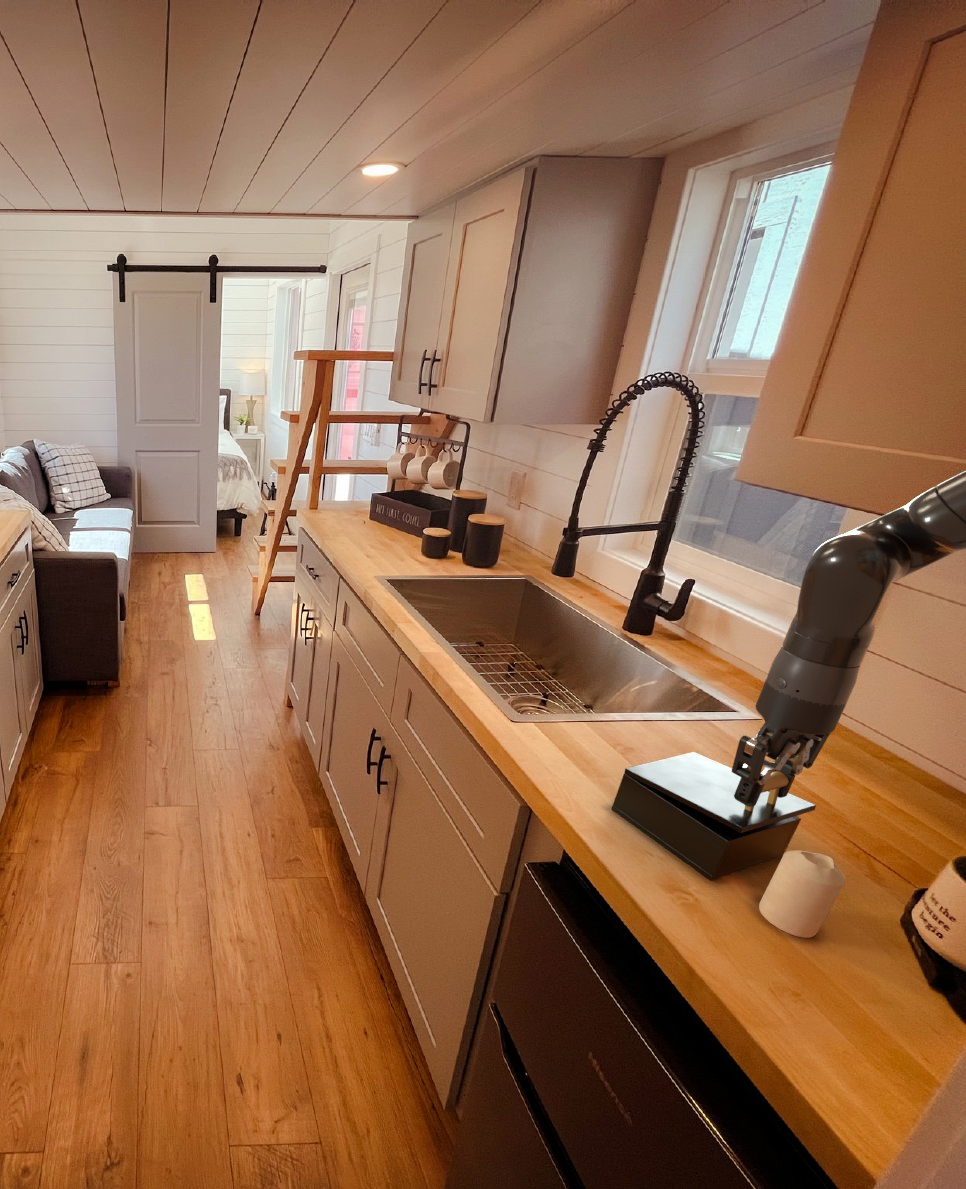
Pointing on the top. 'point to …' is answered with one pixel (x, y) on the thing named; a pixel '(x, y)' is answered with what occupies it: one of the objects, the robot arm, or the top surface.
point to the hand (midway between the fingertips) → (759, 797)
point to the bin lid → (719, 791)
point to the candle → (801, 892)
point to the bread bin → (700, 832)
